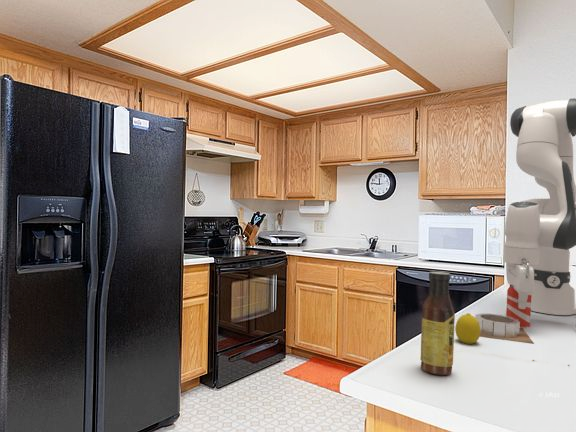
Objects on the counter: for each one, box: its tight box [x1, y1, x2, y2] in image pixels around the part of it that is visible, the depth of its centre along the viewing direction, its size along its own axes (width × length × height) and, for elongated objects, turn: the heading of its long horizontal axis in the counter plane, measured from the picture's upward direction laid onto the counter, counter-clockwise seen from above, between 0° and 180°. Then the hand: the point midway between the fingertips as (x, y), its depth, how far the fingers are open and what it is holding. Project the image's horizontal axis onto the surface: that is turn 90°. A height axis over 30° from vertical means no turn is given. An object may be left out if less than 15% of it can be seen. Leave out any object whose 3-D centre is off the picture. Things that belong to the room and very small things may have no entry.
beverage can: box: [505, 285, 532, 328], centre depth 118 cm, size 6×6×12 cm
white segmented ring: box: [474, 312, 521, 337], centre depth 109 cm, size 10×10×4 cm
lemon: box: [454, 313, 481, 345], centre depth 99 cm, size 6×6×8 cm
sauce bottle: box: [420, 271, 456, 376], centre depth 83 cm, size 7×6×20 cm
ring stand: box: [479, 327, 535, 345], centre depth 109 cm, size 15×15×1 cm
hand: (518, 305), depth 118 cm, fingers open, 8 cm apart
